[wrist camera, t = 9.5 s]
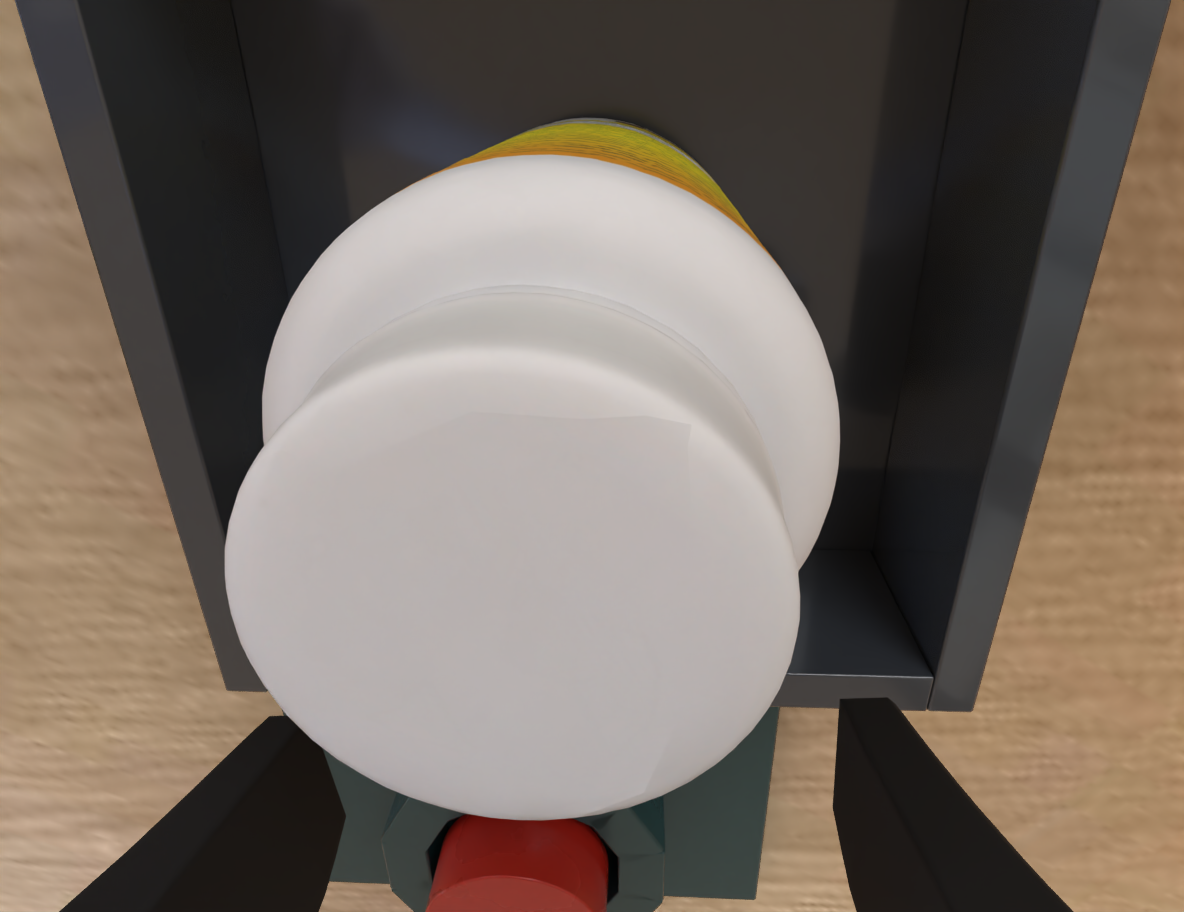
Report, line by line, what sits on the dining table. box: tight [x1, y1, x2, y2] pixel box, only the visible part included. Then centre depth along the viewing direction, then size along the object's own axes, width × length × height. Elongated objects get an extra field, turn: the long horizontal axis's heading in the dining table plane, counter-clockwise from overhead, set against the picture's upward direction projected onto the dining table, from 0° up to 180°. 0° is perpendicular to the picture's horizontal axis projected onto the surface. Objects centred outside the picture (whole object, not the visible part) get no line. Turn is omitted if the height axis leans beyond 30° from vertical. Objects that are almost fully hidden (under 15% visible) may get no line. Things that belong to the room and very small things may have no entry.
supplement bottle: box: [225, 118, 840, 820], centre depth 10 cm, size 6×6×10 cm
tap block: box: [282, 707, 780, 912], centre depth 20 cm, size 13×9×2 cm
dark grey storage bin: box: [15, 0, 1171, 712], centre depth 13 cm, size 14×14×5 cm
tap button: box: [425, 814, 608, 912], centre depth 19 cm, size 4×4×2 cm
